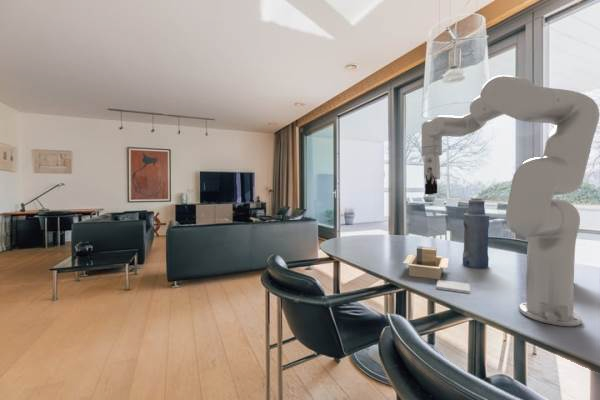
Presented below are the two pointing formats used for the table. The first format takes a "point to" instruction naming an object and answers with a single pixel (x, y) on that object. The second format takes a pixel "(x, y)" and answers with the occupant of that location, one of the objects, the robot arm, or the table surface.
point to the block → (426, 256)
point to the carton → (426, 267)
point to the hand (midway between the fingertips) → (431, 193)
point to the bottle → (476, 235)
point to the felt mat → (453, 286)
